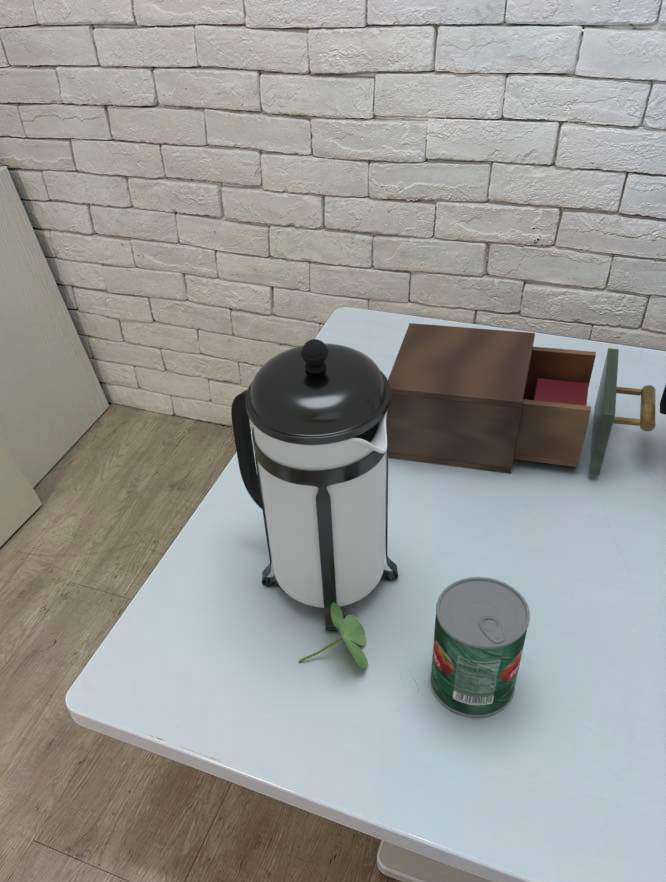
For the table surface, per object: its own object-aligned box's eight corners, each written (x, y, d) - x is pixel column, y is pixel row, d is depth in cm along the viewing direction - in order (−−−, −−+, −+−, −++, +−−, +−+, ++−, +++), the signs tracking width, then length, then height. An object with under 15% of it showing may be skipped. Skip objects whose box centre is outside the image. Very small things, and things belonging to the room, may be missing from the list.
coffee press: (397, 525, 93) (402, 286, 72) (399, 634, 82) (406, 390, 61) (250, 525, 95) (213, 295, 74) (232, 631, 84) (183, 396, 63)
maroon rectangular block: (533, 404, 103) (537, 377, 100) (583, 409, 101) (589, 382, 98) (525, 447, 97) (530, 421, 94) (578, 454, 95) (584, 427, 92)
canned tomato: (417, 660, 79) (422, 588, 72) (492, 641, 80) (504, 567, 72) (449, 727, 74) (457, 657, 66) (529, 706, 75) (547, 633, 67)
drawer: (644, 412, 101) (662, 352, 95) (643, 481, 92) (662, 420, 86) (488, 396, 107) (495, 338, 101) (473, 459, 98) (479, 400, 92)
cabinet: (524, 403, 106) (535, 332, 99) (511, 473, 97) (522, 401, 90) (407, 390, 111) (409, 322, 103) (384, 457, 102) (384, 387, 94)
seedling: (329, 680, 85) (381, 652, 82) (308, 705, 77) (365, 675, 75) (293, 622, 85) (344, 592, 83) (269, 641, 78) (324, 609, 75)
